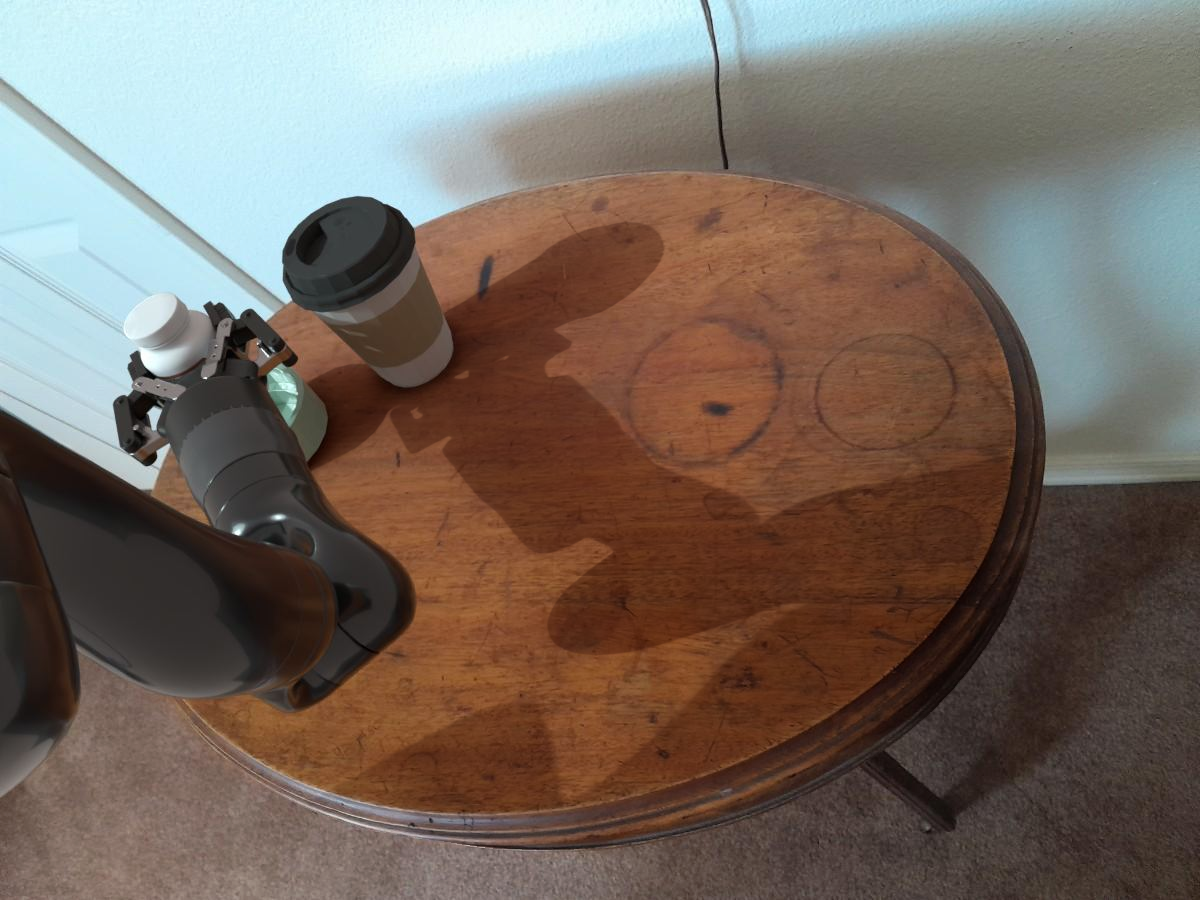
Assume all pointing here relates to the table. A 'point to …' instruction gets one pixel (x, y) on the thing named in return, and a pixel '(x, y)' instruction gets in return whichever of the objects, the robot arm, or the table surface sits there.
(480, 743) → the table surface
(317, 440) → the bowl
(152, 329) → the pill bottle
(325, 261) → the coffee cup
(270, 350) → the robot arm
